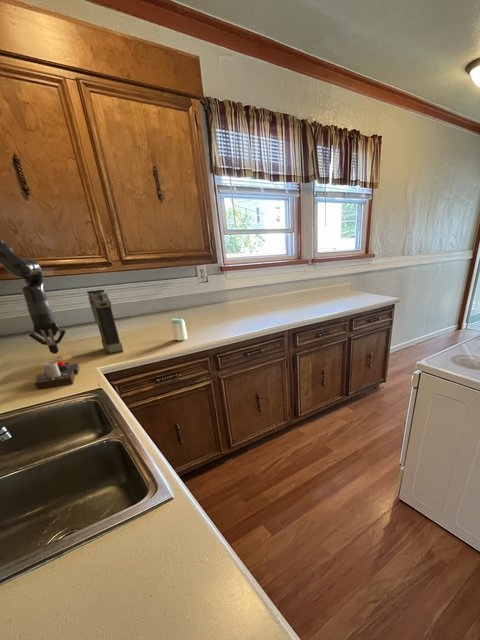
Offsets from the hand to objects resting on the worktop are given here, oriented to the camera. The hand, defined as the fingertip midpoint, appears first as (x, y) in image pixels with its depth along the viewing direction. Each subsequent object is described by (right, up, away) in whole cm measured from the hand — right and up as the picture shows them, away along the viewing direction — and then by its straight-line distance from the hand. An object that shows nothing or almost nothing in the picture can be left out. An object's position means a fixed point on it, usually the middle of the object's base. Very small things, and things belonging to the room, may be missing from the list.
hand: (55, 353), depth 138 cm
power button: (0, -5, +3) cm, 6 cm away
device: (+6, +6, +33) cm, 34 cm away
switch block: (0, -8, +4) cm, 9 cm away
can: (+35, +15, +50) cm, 63 cm away
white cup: (+4, -10, -6) cm, 13 cm away
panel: (+4, -13, -5) cm, 14 cm away
